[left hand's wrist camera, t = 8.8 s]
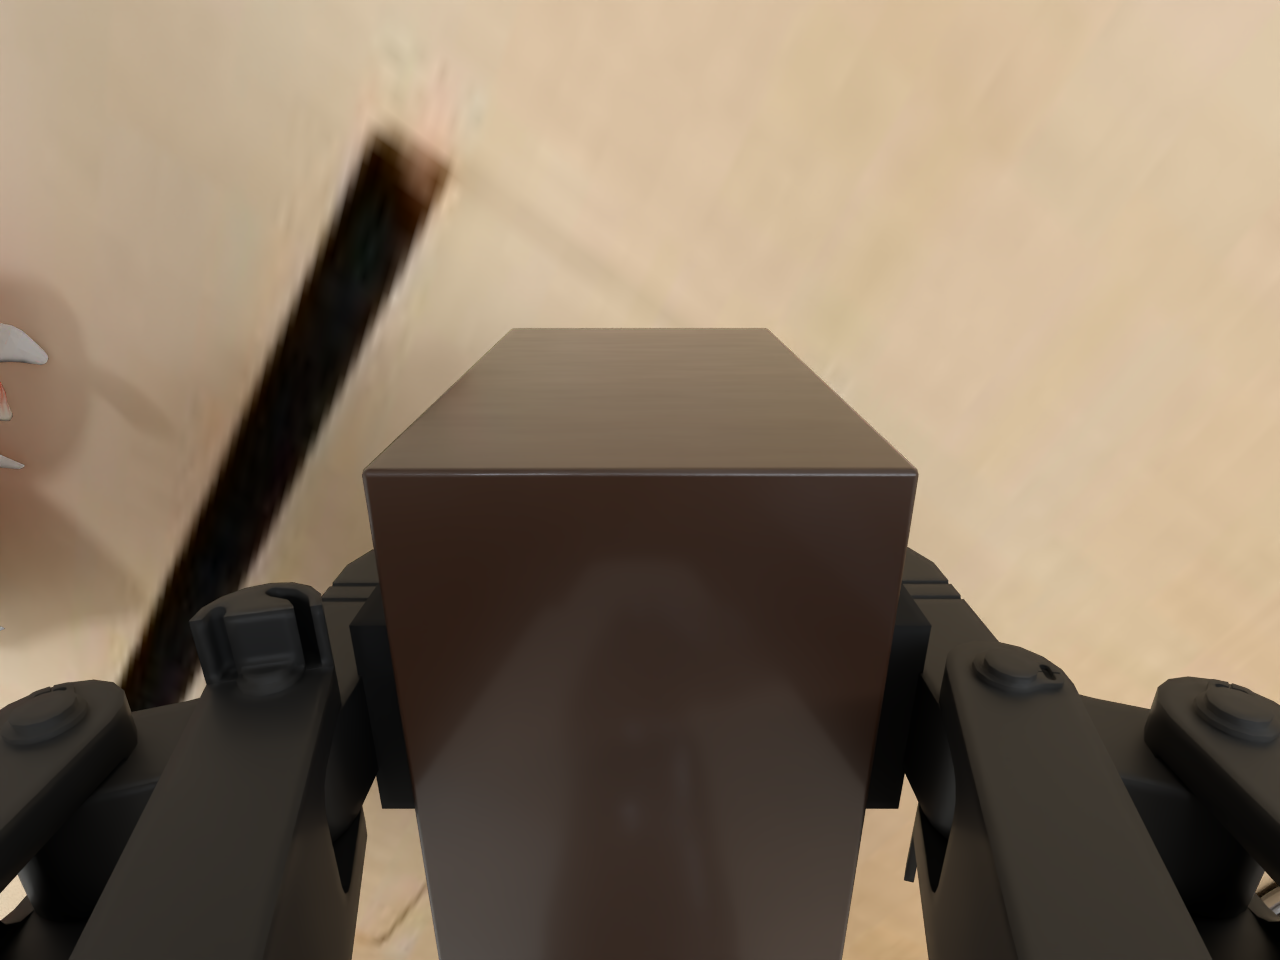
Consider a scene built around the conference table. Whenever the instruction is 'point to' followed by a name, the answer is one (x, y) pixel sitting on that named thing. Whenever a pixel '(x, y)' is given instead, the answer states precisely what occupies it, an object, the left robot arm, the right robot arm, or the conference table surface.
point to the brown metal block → (640, 644)
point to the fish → (16, 347)
